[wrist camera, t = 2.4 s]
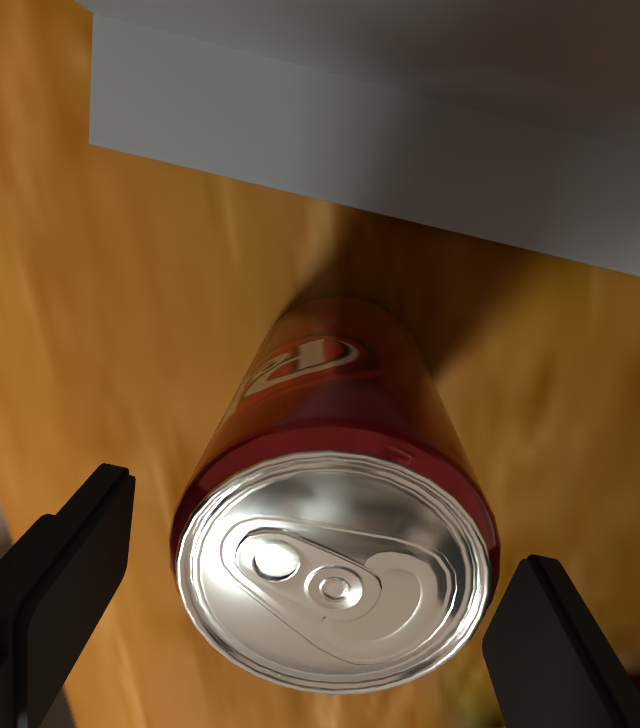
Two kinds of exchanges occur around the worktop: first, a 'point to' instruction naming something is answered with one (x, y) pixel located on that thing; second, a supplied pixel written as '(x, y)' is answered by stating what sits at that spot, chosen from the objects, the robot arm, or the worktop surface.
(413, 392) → the soda can
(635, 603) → the worktop surface
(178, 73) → the screen
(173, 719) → the worktop surface
